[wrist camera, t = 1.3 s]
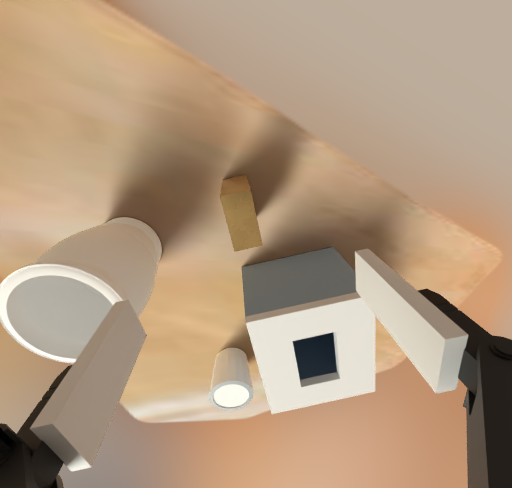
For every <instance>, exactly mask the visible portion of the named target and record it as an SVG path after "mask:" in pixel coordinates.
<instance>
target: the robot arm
mask: <svg viewBox="0 0 512 488" xmlns="http://www.w3.org/2000/svg"><path fill="white" fill-rule="evenodd" d="M355 272H356V291H357V293H358V294H359V295H360V296H361V298H362V299H363V300H364V302H365V303H366V304H367V305H368V307H369V308H370V309H371V311H372V312H373V313H374V314H375V316H376V317H377V318H378V320H379V321H380V322H381V323H382V325H383V326H384V327H385V329H386V330H387V331H388V332H389V334H390V335H391V336H392V338H393V339H394V340H395V341H396V343H397V344H398V345H399V346H400V348H401V349H402V350H403V352H404V353H405V354H406V355H407V357H408V358H409V359H410V361H411V362H412V363H413V364H414V366H415V367H416V368H417V370H418V371H419V372H420V373H421V375H422V376H423V377H424V378H425V380H426V381H427V382H428V384H429V385H430V386H431V388H432V389H433V390H434V391H435V393H441V392H446V391H450V390H455V389H456V388H457V383H458V379H460V380H461V381H462V382H463V383H464V385H465V386H466V387H467V388H468V389H467V392H466V397H465V400H464V404H463V407H465V408H466V409H467V463H468V488H512V340H510V339H507V338H504V337H499V336H492V335H490V334H489V333H488V332H486V331H485V330H484V329H483V328H481V327H480V326H479V325H478V324H477V323H475V322H474V321H473V320H471V319H470V318H469V317H468V316H466V315H465V314H464V313H462V312H461V311H459V310H458V309H457V308H456V307H455V306H454V305H452V304H450V302H449V301H447V300H446V299H445V298H444V297H442V296H441V295H440V294H437V293H435V292H433V291H431V290H428V289H423V290H419V291H417V290H416V289H415V288H414V287H412V286H411V285H410V284H409V283H408V282H407V281H405V280H404V279H403V278H402V277H401V276H400V275H398V274H397V273H396V272H395V271H394V270H393V269H391V268H390V267H389V266H388V265H387V264H386V263H385V262H383V261H382V260H381V259H380V258H379V257H378V256H376V255H375V254H374V253H373V252H372V251H371V250H369V249H363V250H358V251H355ZM146 336H147V335H146V333H145V331H144V329H143V327H142V325H141V323H140V321H139V319H138V317H137V315H136V313H135V311H134V309H133V307H132V305H131V303H130V301H129V300H124V301H119V302H115V304H114V305H113V306H112V308H111V309H110V311H109V312H108V314H107V315H106V317H105V318H104V320H103V321H102V323H101V324H100V326H99V327H98V329H97V330H96V332H95V333H94V334H93V336H92V337H91V339H90V340H89V342H88V343H87V345H86V346H85V348H84V349H83V351H82V352H81V354H80V355H79V357H78V358H77V359H76V361H75V362H74V364H73V365H71V366H68V367H67V368H66V369H65V370H64V371H63V372H62V373H61V374H60V375H59V376H58V377H57V378H56V379H55V381H54V382H53V384H52V385H51V386H50V388H49V391H47V392H46V393H45V395H44V396H43V398H42V400H41V401H40V402H39V403H38V404H37V406H36V407H35V409H34V410H33V412H32V413H31V414H30V416H29V417H28V419H27V420H26V422H25V423H24V424H23V426H22V427H21V428H20V430H19V432H18V433H17V434H16V433H15V432H14V431H13V430H11V429H10V428H9V427H8V426H7V425H6V424H0V488H64V487H63V482H62V479H61V477H60V476H59V475H58V473H59V471H60V469H61V467H62V465H63V463H64V464H65V465H66V466H67V467H68V468H69V469H70V470H71V471H76V470H81V469H85V468H90V467H92V465H93V463H94V460H95V458H96V456H97V453H98V451H99V448H100V446H101V443H102V441H103V439H104V436H105V434H106V432H107V429H108V427H109V424H110V422H111V419H112V417H113V415H114V412H115V410H116V407H117V405H118V403H119V400H120V398H121V396H122V393H123V391H124V388H125V386H126V384H127V381H128V379H129V376H130V374H131V372H132V369H133V367H134V364H135V362H136V360H137V357H138V355H139V352H140V350H141V348H142V345H143V343H144V340H145V338H146Z"/></svg>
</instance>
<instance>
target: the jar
mask: <svg viewBox="0 0 512 488" xmlns="http://www.w3.org/2000/svg"><path fill="white" fill-rule="evenodd" d="M161 254H162V246H161V242H160V240H159V237H158V236H157V234H156V233H155V231H154V230H153V229H152V228H151V227H150V226H148V225H147V224H145V223H144V222H142V221H140V220H137V219H134V218H129V217H119V218H115V219H112V220H110V221H108V222H106V223H105V224H103V225H99V226H96V227H93V228H90V229H88V230H85V231H82V232H79V233H76V234H74V235H72V236H70V237H68V238H66V239H64V240H62V241H61V242H59V243H58V244H56V245H55V246H53V247H52V248H51V249H49V250H48V251H47V252H46V253H45V254H44V255H43V256H41V257H40V258H39V259H38V260H37V261H36V262H35V263H32V264H29V265H26V266H24V267H22V268H20V269H18V270H17V271H15V272H13V273H12V274H10V275H9V276H8V277H6V278H5V279H4V281H3V282H2V283H1V285H0V322H1V324H2V325H3V327H4V328H5V330H6V331H7V332H8V333H9V334H10V336H11V337H12V338H14V339H15V340H16V341H17V342H18V343H19V344H21V345H22V346H23V347H25V348H27V349H28V350H30V351H32V352H34V353H36V354H38V355H40V356H42V357H45V358H48V359H51V360H55V361H59V362H64V363H73V364H74V362H75V361H76V359H77V358H78V357H79V355H80V354H81V352H82V351H83V349H84V348H85V346H86V345H87V343H88V342H89V340H90V339H91V337H92V336H93V334H94V333H95V332H96V330H97V329H98V327H99V326H100V324H101V323H102V321H103V320H104V318H105V317H106V315H107V314H108V312H109V311H110V309H111V308H112V306H113V305H114V304H115V302H119V301H124V300H129V301H130V303H131V305H132V307H133V309H134V311H135V313H136V315H137V317H139V315H140V314H141V312H142V311H143V309H144V308H145V306H146V304H147V302H148V300H149V298H150V296H151V293H152V290H153V287H154V282H155V277H156V273H157V267H158V262H159V261H160V258H161Z"/></svg>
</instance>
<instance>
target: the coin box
mask: <svg viewBox="0 0 512 488" xmlns="http://www.w3.org/2000/svg"><path fill="white" fill-rule="evenodd" d="M242 278H243V292H244V305H245V319H246V325H247V329H248V333H249V336H250V340H251V343H252V347H253V350H254V354H255V357H256V361H257V364H258V368H259V371H260V375H261V378H262V382H263V385H264V389H265V392H266V396H267V399H268V403H269V406H270V410H271V413H272V414H275V413H279V412H284V411H288V410H293V409H297V408H302V407H306V406H311V405H316V404H320V403H325V402H329V401H334V400H338V399H343V398H347V397H352V396H356V395H361V394H366V393H370V392H375V314H374V313H373V312H372V311H371V309H370V308H369V307H368V305H367V304H366V303H365V302H364V300H363V299H362V298H361V296H360V295H359V294H358V293H357V291H356V272H355V271H354V270H353V268H352V267H351V266H350V265H349V264H348V263H347V262H346V261H345V259H344V258H343V257H342V256H341V255H340V254H339V253H338V251H337V250H336V249H335V248H334V247H330V248H325V249H321V250H316V251H312V252H307V253H303V254H298V255H294V256H289V257H285V258H280V259H276V260H271V261H267V262H262V263H258V264H253V265H249V266H244V267H242Z"/></svg>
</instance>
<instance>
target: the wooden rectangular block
mask: <svg viewBox="0 0 512 488" xmlns="http://www.w3.org/2000/svg"><path fill="white" fill-rule="evenodd" d="M220 198H221V202H222V206H223V210H224V213H225V217H226V221H227V225H228V228H229V232H230V236H231V240H232V243H233V247H234V251H239V250H244V249H248V248H253V247H257V246H262V240H261V236H260V231H259V226H258V221H257V217H256V212H255V207H254V202H253V198H252V193H251V189H250V186H249V183H248V179H247V176H246V175H242V176H237V177H233V178H228V179H224V180H223V182H222V188H221V193H220Z"/></svg>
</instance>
